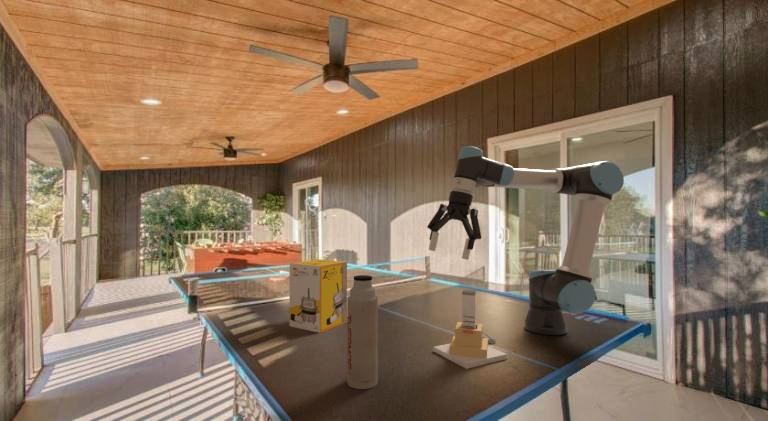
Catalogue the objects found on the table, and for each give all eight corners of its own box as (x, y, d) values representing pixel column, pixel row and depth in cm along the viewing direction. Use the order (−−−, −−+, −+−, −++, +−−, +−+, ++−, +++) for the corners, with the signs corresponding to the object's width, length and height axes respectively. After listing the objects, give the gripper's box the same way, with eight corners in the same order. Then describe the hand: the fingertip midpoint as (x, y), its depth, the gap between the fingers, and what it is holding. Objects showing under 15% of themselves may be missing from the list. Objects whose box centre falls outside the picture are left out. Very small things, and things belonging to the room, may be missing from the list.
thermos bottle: (347, 389, 96) (347, 278, 96) (347, 376, 104) (347, 273, 104) (378, 388, 97) (378, 278, 97) (376, 375, 105) (376, 273, 105)
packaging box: (346, 322, 156) (347, 261, 157) (320, 333, 143) (320, 266, 143) (317, 317, 165) (317, 259, 165) (289, 326, 151) (289, 263, 152)
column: (476, 345, 122) (476, 290, 122) (475, 350, 117) (475, 293, 118) (463, 344, 123) (463, 289, 123) (461, 348, 119) (461, 292, 119)
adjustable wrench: (497, 345, 131) (497, 340, 131) (479, 346, 130) (479, 341, 130) (470, 324, 156) (470, 319, 156) (455, 324, 155) (455, 320, 155)
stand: (506, 346, 128) (506, 319, 128) (507, 373, 106) (507, 341, 106) (438, 340, 134) (438, 314, 134) (427, 364, 113) (427, 333, 113)
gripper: (426, 186, 134) (412, 245, 132) (489, 193, 116) (474, 261, 115) (438, 192, 139) (425, 248, 138) (501, 199, 121) (486, 264, 120)
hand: (447, 254), depth 126 cm, fingers open, 13 cm apart
